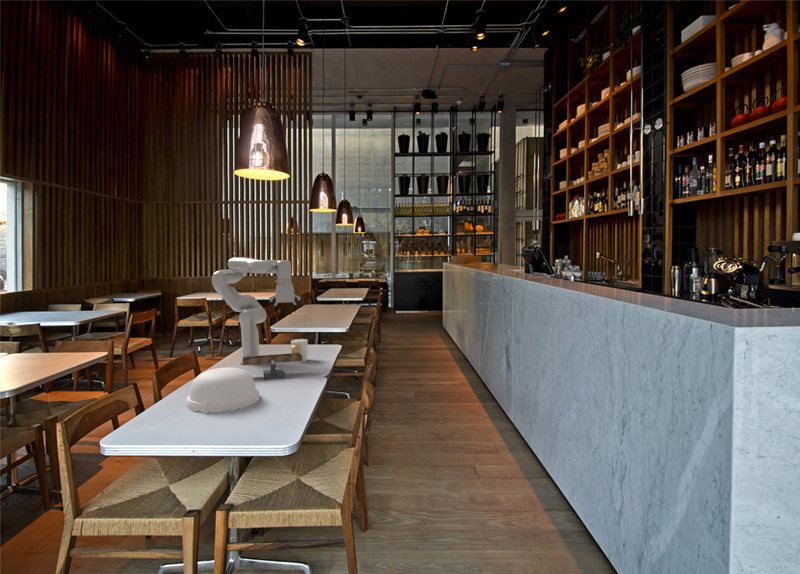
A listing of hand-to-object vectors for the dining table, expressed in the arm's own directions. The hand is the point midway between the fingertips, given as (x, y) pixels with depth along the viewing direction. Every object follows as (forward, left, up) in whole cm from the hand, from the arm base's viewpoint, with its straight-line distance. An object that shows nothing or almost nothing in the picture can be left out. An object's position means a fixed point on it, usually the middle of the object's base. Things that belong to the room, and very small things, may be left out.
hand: (285, 312), depth 273 cm
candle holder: (-4, +12, -31) cm, 33 cm away
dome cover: (+32, -58, -31) cm, 73 cm away
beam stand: (+12, -18, -30) cm, 37 cm away
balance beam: (+12, -18, -22) cm, 31 cm away
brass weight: (+19, -8, -22) cm, 29 cm away
